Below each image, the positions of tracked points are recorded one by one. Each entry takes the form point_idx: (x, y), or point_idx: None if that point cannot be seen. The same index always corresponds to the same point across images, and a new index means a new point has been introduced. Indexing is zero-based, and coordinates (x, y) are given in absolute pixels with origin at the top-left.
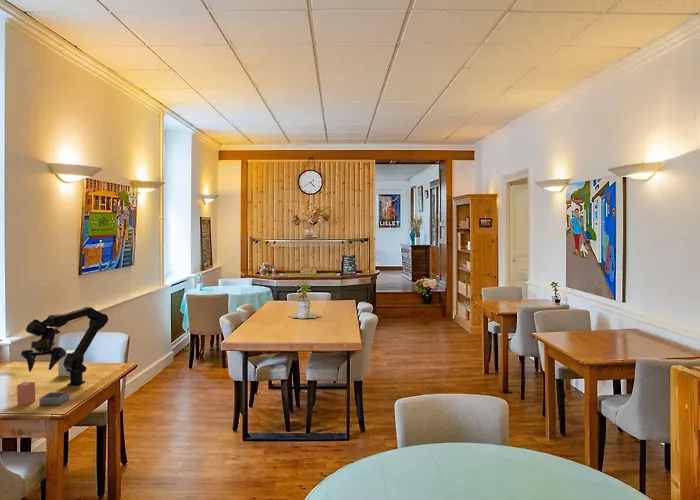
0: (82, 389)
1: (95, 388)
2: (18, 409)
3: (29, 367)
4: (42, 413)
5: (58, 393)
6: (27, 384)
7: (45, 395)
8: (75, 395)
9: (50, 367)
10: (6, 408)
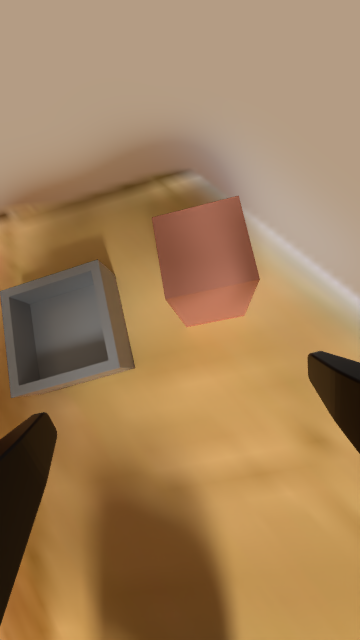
0: (76, 593)
1: (11, 627)
2: None
3: (349, 369)
4: (43, 209)
5: (66, 372)
6: (174, 234)
7: (100, 309)
8: None
9: (13, 436)
10: None
